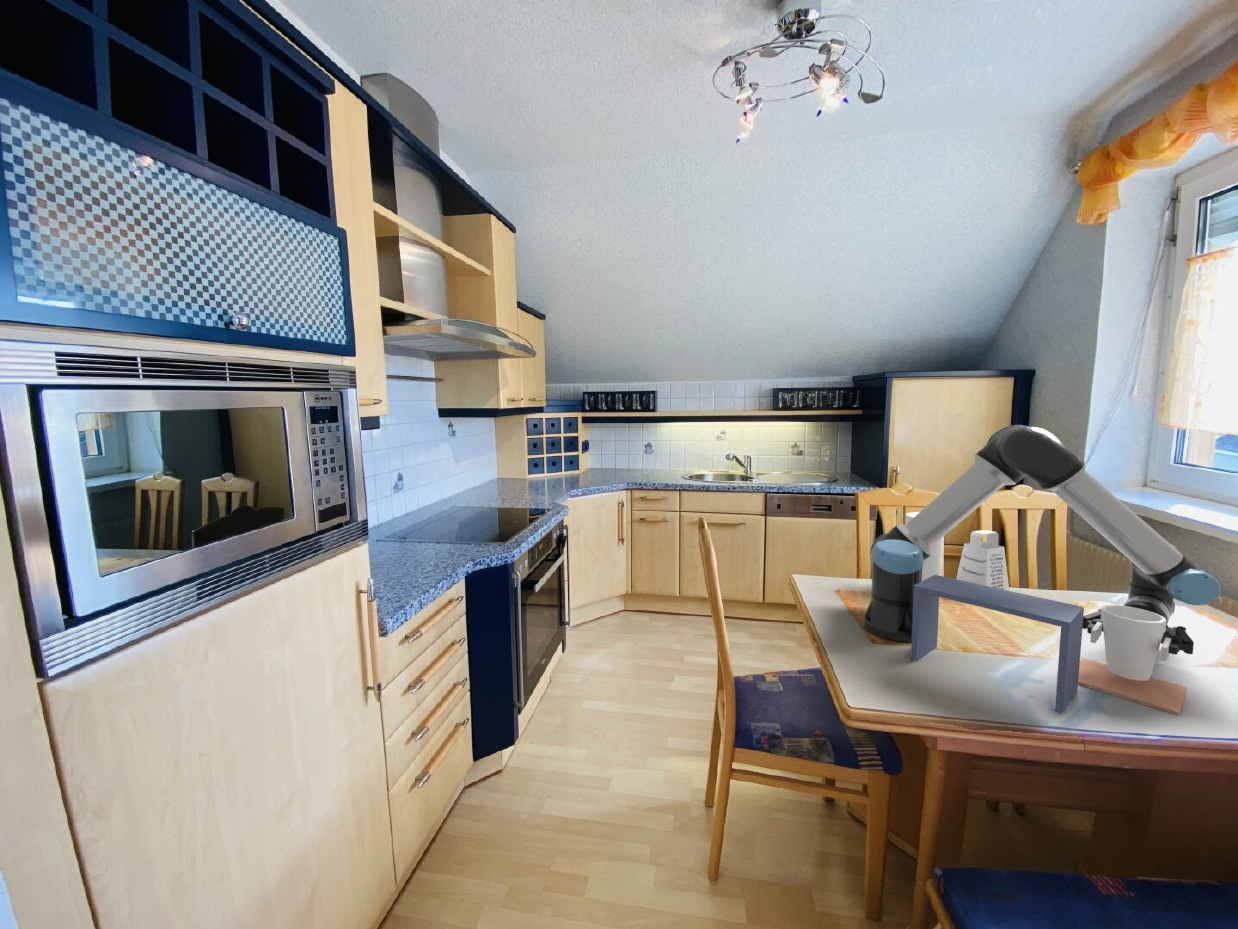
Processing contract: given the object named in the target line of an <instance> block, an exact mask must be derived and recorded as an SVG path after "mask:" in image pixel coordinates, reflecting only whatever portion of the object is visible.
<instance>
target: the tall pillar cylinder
mask: <svg viewBox="0 0 1238 929" xmlns="http://www.w3.org/2000/svg"><path fill="white" fill-rule="evenodd" d="M919 512H920V511H919ZM919 512H908V513H907V512H906V514H905V524H907V523H908V522H909V521H910V520H911V519H913V518H914V517H915V516H916V515H917V514H918V513H919ZM944 538H945V536H943V537H942V538H941V539H940V540H939V541H938V542H936V543H935V544H934V545H933V546H932V548H931V552H932V555H930V556H929V557H928V558H927V559H926V560H925V561H924V563H923V566H922V581H923V580H925V579H927V578H929V577H931V576H933V575H939V576H943V559H944V540H945V539H944Z"/></svg>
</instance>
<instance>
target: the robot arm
mask: <svg viewBox="0 0 1238 929" xmlns="http://www.w3.org/2000/svg"><path fill="white" fill-rule="evenodd" d="M1086 466H1087V465H1086V463H1085V462H1084V461H1083V460H1082V459H1081V458H1080V457H1078V456H1077V455H1076V454H1075V453H1074V452H1073V451H1072V450H1071V449H1070V448H1069V447H1068V446H1067V445H1066V444H1064V442H1063V441H1062V440H1061V439H1060V438H1059V437H1057V436H1056V435H1055V434H1054V433H1052V432H1051V431H1049V430H1047V429H1045V428H1042V427H1037V426H1028V425H1022V424H1015V425H1008V426H1005V427H1002V428H1000V429H999V430H997V431H996V432H995V431H994V433H993V434H992V435H990V437H989V439H988V440H987V443H986V444H985V446H983V447H982V448H981V449H980V450H979V451H978V452H976V453H975V455H974V463H973V464H972V465H971V466H970V467H969V468H968V469H967V470H966V471H964V473H962V474H961V475H960V476H958V478H956V479H955V480H954V481H953V482H952V483H951V484H950V485H948V486H947V487H946V488H945V489H944V490H943V491H941V493H940V494H939V495H937V496H936V497H935V498H933V500H931V501H930V503H928V504H927V505H926V506H925V507H924V508H923V509H921V510H920V511H919V513H918V514H917V515H916V516H915V517H914V518H913V519H911V520H910V521H909V522H908V523H907V524H906V523H905V524H896V525H895V526H893V527H892V528H891V529H890V530H889V531H888V532H886V533H883V534H881V535H879V536H878V537H877V538H876V539H874V541H873V542H872V544H871V547H870V553H869V555H870V561H871V570H872V571H871V572H872V573H871V574H872V575H871V596H870V597H871V598H870V601H869V604H868V606H867V608H866V610H865V612H864V614H863V624H862V625H863V628H864V629H865V630H866V631H868V632H869V633H871V634H873V635H875V636H877V637H880V638H882V639H887V640H891V641H896V642H905V643H912V621H913V597H914V585H916V584H918V583H919V582H921V581H922V566H923V563H924V561H925V560H926V559H927V558H928V557H929V556H930V555H932V552H931V548H932V546H933V545H934V544H935V543H936V542H938V541H939V540H940V539H941V538H942V537H943V536H944V537H945V536H946V535H947V534H948V533H950V532H951V530H953V529H955V528H956V527H957V526H958V525H959V524H960V523H961V522H962V521H963V520H965V519H966V518H967V517H969V515H971V514H972V513H973V512H974V511H976V509H978V508H979V507H980V506H982V505H983V504H984V503H985V502H986V501H987V500H988V499H990V498H991V497H992V496H993V495H994V494H996V493H997V492H998V491H999V490H1000V489H1002V488H1003V487H1004V486H1014V485H1016V484H1018V483H1019V482H1021V480H1022V479H1024V478H1025V477H1027V478H1028V479H1029V480H1031V481H1032V482H1034V483H1035V484H1036V485H1037V486H1039V487H1040V488H1041V489H1042V490H1043V491H1052V493H1054V494H1055V495H1056V496H1057V497H1058V498H1060V500H1062V501H1063V502H1064V504H1066V505H1067V506H1068V507H1070V508H1071V509H1072V511H1074V512H1075V513H1076V514H1078V516H1080V517H1081V518H1082V519H1083V520H1084V521H1086V522H1087V523H1088V524H1089V525H1090V526H1091V527H1092V528H1093V529H1094V530H1096V531H1097V532H1098V533H1099V534H1100V535H1101V536H1102V537H1103V538H1104V539H1106V540H1107V541H1108V542H1110V544H1112V546H1114V547H1115V548H1116V549H1117V550H1118V551H1119V552H1120V553H1121V554H1122V555H1124V556H1125V558H1127V559H1129V561H1130V568H1129V569H1130V571H1129V572H1130V573H1129V585H1128V597H1127V600H1126V602H1125V603H1124V604H1123V606H1129V607H1134V608H1139V609H1144V610H1147V611H1150V612H1154V613H1157V614H1159V615H1161V616H1163V617H1165V619H1166V631H1165V632H1164V633H1163V637H1162V640H1161V643H1160V644H1161V650H1160V651H1161V652H1160V660H1161V661H1164V662H1167V660H1168V658H1169V655H1170V654H1172V655H1176V656H1177V655H1178V654H1179V652H1180V651H1183V653H1184V654H1187V655H1194V643H1195V642H1194V640H1192V638H1191V637H1190V636H1189V634H1188V633H1187V627H1185V626H1182V625H1178V626H1173V627H1169V625H1168V623H1169V621H1170V619H1171V617H1172V614H1174V612H1175V608H1176V603H1175V601H1179V602H1183V603H1184V604H1186V605H1191V606H1196V607H1197V606H1206V605H1209V604H1213V602H1216V601H1217V600H1218V599H1219V597H1221V596H1220V595H1221V593H1222V586H1221V584H1220V582H1219V581H1218V579H1216V578H1215V577H1214V576H1213V575H1211V574H1210V573H1209V572H1207V571H1205V570H1201V569H1200V568H1199V567H1197V566H1196V565H1195V564H1194V563H1192V561H1191V560H1189V559H1188V558H1187V557H1186V556H1185V555H1183V554H1182V553H1181V552H1180V551H1179V550H1178V549H1179V548H1178V547H1176V546H1175V545H1173V544H1171V543H1170V542H1169V541H1167V540H1166V539H1165V538H1164V537H1163V536H1161V534H1159V533H1158V532H1157V531H1156V530H1155V529H1154V528H1153V527H1151V526H1150V525H1149V524H1148V523H1147V522H1145V520H1143V519H1142V518H1141V517H1140V516H1138V515H1137V514H1136V513H1135V512H1134V511H1133V510H1132V509H1131V508H1130V507H1128V506H1127V505H1126V504H1124V502H1122V501H1121V500H1120V499H1119V498H1118V497H1116V495H1114V494H1113V493H1112V492H1111V491H1110V490H1108V488H1106V487H1105V486H1104V485H1103V484H1102V483H1100V482H1099V481H1098V480H1097V479H1096V478H1094V476H1092V474H1090V473H1089V472H1088V471H1086ZM1082 630H1086V631H1087V634H1090V640H1089V641H1090V643H1093V644H1096V643H1097V641H1098V640H1099V639H1100V637H1101V636H1102V632H1103V633H1104V631H1103V622H1102V620H1101V608H1099V609H1097V611H1094V612H1091V613H1088V614H1084V615H1083V627H1082Z"/></svg>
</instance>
